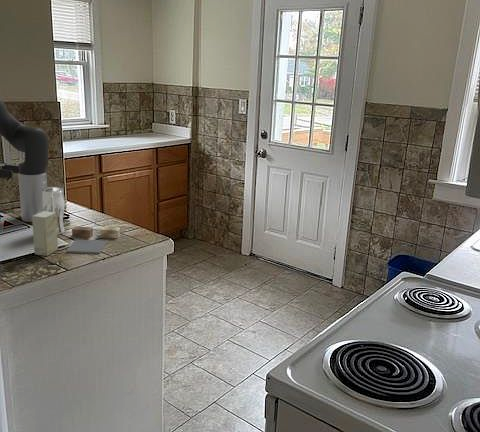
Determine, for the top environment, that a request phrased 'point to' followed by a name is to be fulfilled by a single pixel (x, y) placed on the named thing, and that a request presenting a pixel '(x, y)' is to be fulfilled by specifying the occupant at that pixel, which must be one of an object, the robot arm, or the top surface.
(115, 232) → the beech brick
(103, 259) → the top surface
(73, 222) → the top surface
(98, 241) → the slate coaster
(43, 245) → the skincare box
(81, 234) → the walnut brick
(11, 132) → the robot arm
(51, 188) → the beer glass
